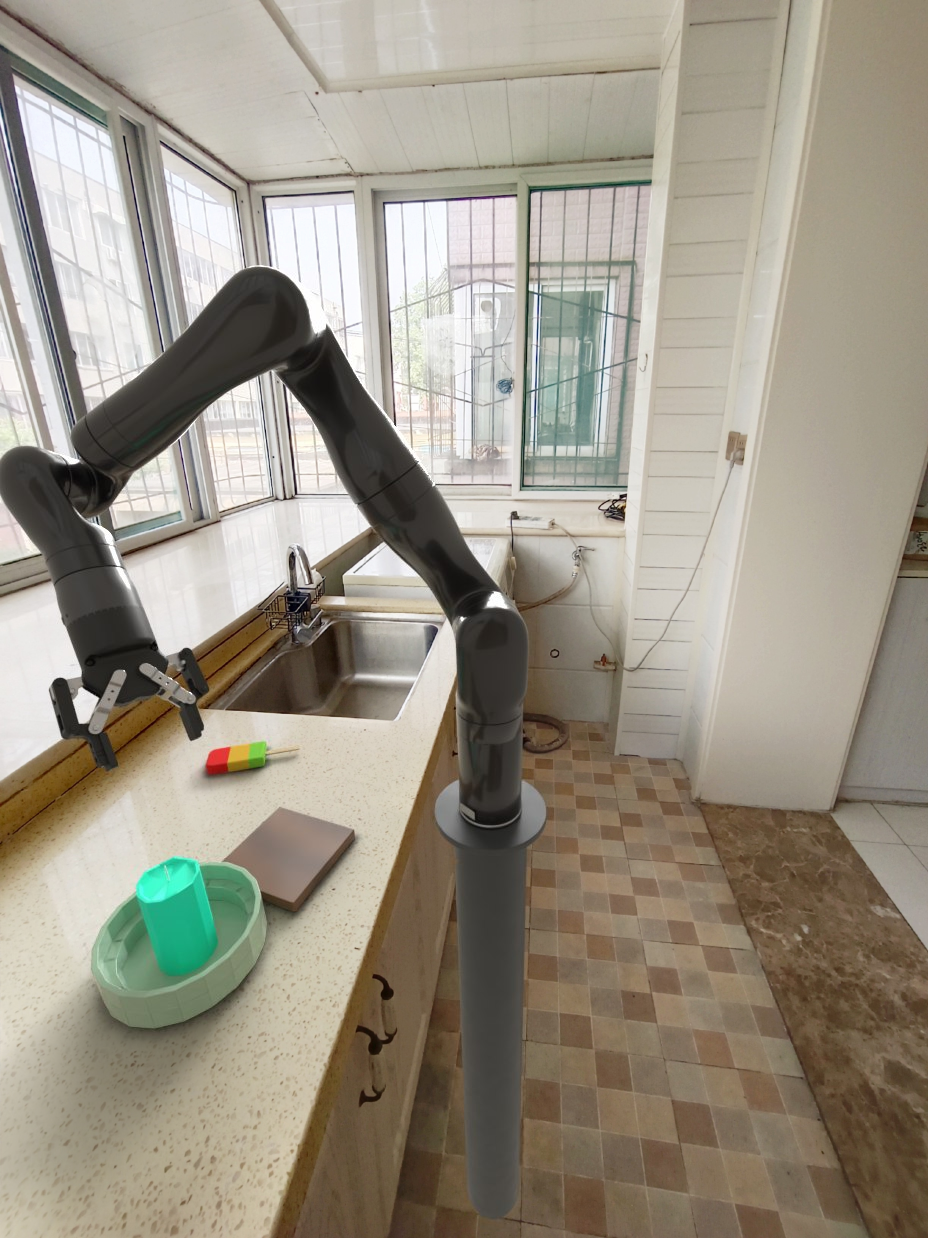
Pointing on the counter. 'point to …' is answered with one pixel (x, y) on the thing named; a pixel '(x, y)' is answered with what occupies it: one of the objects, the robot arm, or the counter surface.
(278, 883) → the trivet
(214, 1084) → the counter surface
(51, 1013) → the counter surface
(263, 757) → the popsicle
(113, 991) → the bowl
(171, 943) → the candle
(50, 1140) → the counter surface
